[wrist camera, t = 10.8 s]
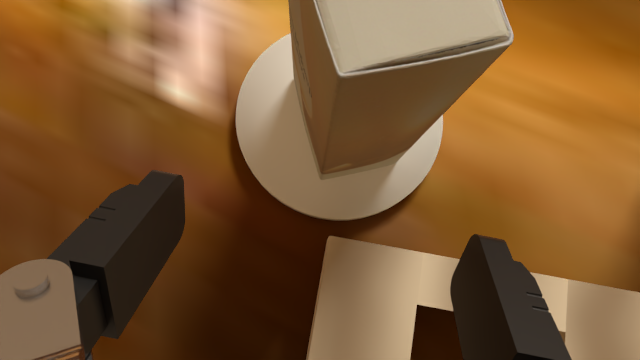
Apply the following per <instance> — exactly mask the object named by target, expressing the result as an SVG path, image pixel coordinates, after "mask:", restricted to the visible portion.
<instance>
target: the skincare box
mask: <svg viewBox="0 0 640 360" xmlns="http://www.w3.org/2000/svg"><path fill="white" fill-rule="evenodd" d="M288 1H289V15H290V30H291V43H292V61H293V76H294V82H295V86H296V91H297V96H298V101H299V105H300V109H301V114H302V118H303V122H304V126H305V130H306V134H307V137H308V140H309V144H310V147H311V151H312V154H313V158H314V161H315V165H316V168H317V172H318V175H319V178H320V179H321V180H325V179H330V178H335V177H340V176H345V175H349V174H354V173H359V172H363V171H368V170H372V169H376V168H380V167H384V166H388V165H392V164H395V163H396V162H397V161H398V160H399V159H400V158H401V157H402V156H403V155H404V154H405V153H406V152H407V151H408V150H409V149H410V148H411V147H412V146H413V145H414V144H415V143H416V142H417V141H418V139H419V138H420V137H421V136H422V135H423V134H424V133H425V132H426V131H427V130H428V129H429V128H430V127H431V126H432V125H433V124H434V123H435V122H436V121H437V120H438V119H439V118H440V117H441V116H442V115H443V114H444V113H445V112H446V111H447V110H448V109H449V108H450V107H451V105H452V104H453V103H454V102H455V101H456V100H457V99H458V98H459V97H460V96H461V95H462V94H463V93H464V92H465V91H466V90H467V89H468V88H469V87H470V86H471V85H472V84H473V83H474V82H475V81H476V80H477V79H478V78H479V77H480V76H481V75H482V74H483V73H484V72H485V71H486V69H487V68H488V67H489V66H490V65H491V64H492V63H493V62H494V61H495V60H496V59H497V58H498V57H499V56H500V55H501V54H502V53H503V52H504V51H505V50H506V49H507V48H508V47H509V46H510V45H511V44H512V41H513V37H514V35H513V32H512V28H511V26H510V24H509V21H508V19H507V16H506V13H505V10H504V7H503V4H502V2H501V0H288Z"/></svg>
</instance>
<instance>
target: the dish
mask: <svg viewBox="0 0 640 360" xmlns="http://www.w3.org/2000/svg"><path fill="white" fill-rule="evenodd" d="M236 130H237V137H238V141H239V145H240V149H241V151H242V153H243V156H244V158H245V161H246V162H247V164H248V166H249V168H250V169H251V171H252V173H253V174H254V176H255V177H256V179H257V180H258V181H259V183H260V184H261V185H262V186H263V187H264V188H265V189H266V190H267V191H268V192H269V193H270V194H271V195H272V196H273V197H274V198H276V199H277V200H278V201H280V202H281V203H282V204H284V205H285V206H287V207H289V208H291V209H293V210H294V211H297V212H299V213H302V214H304V215H307V216H310V217H314V218H318V219H324V220H332V221H349V220H355V219H362V218H365V217H369V216H372V215H375V214H378V213H380V212H382V211H385V210H387V209H389V208H390V207H392V206H393V205H395V204H397V203H398V202H400V201H401V200H402V199H404V198H405V197H406V196H407V195H409V194H410V193H411V192H412V191H413V190H414V189H415V188H416V187H417V186H418V185H419V184H420V183H421V182H422V181H423V179H424V178H425V176H426V175H427V173H428V172H429V171H430V169H431V167H432V165H433V163H434V161H435V159H436V156H437V153H438V150H439V147H440V143H441V138H442V130H443V115H442V116H441V117H440V118H439V119H438V120H437V121H436V122H435V123H434V124H433V125H432V126H431V127H430V128H429V129H428V130H427V131H426V132H425V133H424V134H423V135H422V136H421V137H420V138H419V139H418V141H417V142H416V143H415V144H414V145H413V146H412V147H411V148H410V149H409V150H408V151H407V152H406V153H405V154H404V155H403V156H402V157H401V158H400V159H399V160H398V161H397V162H396V163H395V164H392V165H388V166H384V167H380V168H376V169H372V170H368V171H363V172H359V173H354V174H349V175H345V176H340V177H335V178H330V179H325V180H321V179H320V178H319V175H318V172H317V168H316V165H315V161H314V158H313V154H312V151H311V147H310V144H309V140H308V137H307V134H306V130H305V126H304V122H303V118H302V114H301V109H300V105H299V101H298V96H297V91H296V86H295V82H294V76H293V61H292V43H291V33H290V34H288V35H286V36H284V37H282V38H281V39H279V40H278V41H276V42H275V43H274V44H272V45H271V46H270V47H269V48H268V49H266V50H265V51H264V52H263V53H262V54H261V55H260V57H259V58H258V59H257V60H256V61H255V62H254V64H253V65H252V67H251V68H250V70H249V72H248V73H247V75H246V77H245V79H244V82H243V84H242V86H241V89H240V93H239V96H238V101H237V107H236Z"/></svg>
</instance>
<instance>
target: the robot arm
mask: <svg viewBox="0 0 640 360" xmlns="http://www.w3.org/2000/svg"><path fill="white" fill-rule="evenodd" d="M184 225H185V203H184V181H183V177H182V176H181V175H177V174H172V173H167V172H162V171H157V170H152V171H151V172H150V173H149V174H148V175H147V176H146V177H145V178H144V179H143V180H142V181H141V182H140V184H139V185H138V186H137V185H132V184H129V185H127V186H125V187H123V188H121V189H119V190H117V191H115V192H113V193H111V194H110V195H109V196H108V197H107V198H106V199H105V200H104V202H103V203H102V204H101V205H100V206H99V208H97V209H96V210H95V211H94V212H93V213H92V214H91V215H90V216H89V218H88V219H86V220H85V221H84V222H83V223H82V224H81V225H80V226H79V227H78V228H77V229H76V230H75V231H74V232H73V233H72V234H71V235H70V236H69V237H68V238H67V239H66V240H65V241H64V242H63V243H62V244H61V245H60V246H59V247H58V248H57V249H56V250H55V251H54V252H53V253H52V254H51V255H50V256H49V257H48V258H47V259H39V260H33V261H28V262H25V263H22V264H19V265H17V266H15V267H13V268H11V269H9V270H7V271H6V272H4V273H3V274H2V275H0V360H94V359H93V353H92V348H93V346H94V345H95V343H96V342H97V340H98V339H99V338H100V336H105V337H110V338H115V339H118V338H119V336H120V335H121V333H122V332H123V330H124V328H125V327H126V325H127V324H128V322H129V320H130V319H131V317H132V316H133V314H134V312H135V311H136V309H137V308H138V306H139V304H140V303H141V301H142V300H143V298H144V296H145V295H146V293H147V292H148V290H149V288H150V287H151V285H152V284H153V282H154V280H155V279H156V277H157V276H158V274H159V272H160V271H161V269H162V268H163V266H164V264H165V263H166V261H167V260H168V258H169V256H170V255H171V253H172V252H173V250H174V249H175V247H176V245H177V244H178V242H179V240H180V238H181V236H182V233H183V230H184ZM450 295H451V301H452V306H453V311H454V315H455V320H456V325H457V330H458V335H459V340H460V345H461V350H462V355H463V360H572V359H571V357H570V355H569V352H568V350H567V348H566V346H565V343H564V341H563V339H562V337H561V335H560V332H559V330H558V328H557V326H556V324H555V321H554V319H553V317H552V315H551V313H549V311H548V310H549V308H548V306H547V304H546V301H545V299H544V298H542V293H541V290H540V288H539V286H538V284H537V282H536V279H535V278H534V277H533V275H532V274H531V273H530V272H529V271H528V270H527V269H526V268H525V267H524V265H523V264H522V263H521V262H517V261H513V259H512V256H511V254H510V251H509V249H508V247H507V244H506V242H505V241H504V240H502V239H497V238H492V237H487V236H482V235H477V234H474V235H473V236H472V237H471V238H470V240H469V241H468V244H467V246H466V248H465V250H464V252H463V254H462V256H461V258H460V260H459V262H458V265H457V267H456V269H455V271H454V273H453V276H452V279H451V286H450Z"/></svg>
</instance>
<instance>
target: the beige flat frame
mask: <svg viewBox="0 0 640 360" xmlns="http://www.w3.org/2000/svg"><path fill="white" fill-rule="evenodd" d="M459 260H460V259H455V258H449V257H444V256H438V255H433V254H428V253H422V252H417V251H411V250H406V249H400V248H395V247H390V246H384V245H379V244H373V243H368V242H362V241H357V240H352V239H346V238H341V237H335V236H329V237H328V239H327V242H326V248H325V254H324V260H323V265H322V271H321V277H320V282H319V288H318V294H317V299H316V305H315V311H314V316H313V322H312V328H311V334H310V339H309V345H308V351H307V356H306V360H410V357H411V349H412V341H413V333H414V325H415V317H416V309H417V305H422V306H428V307H433V308H439V309H444V310H449V311H453V306H452V301H451V295H450V286H451V279H452V276H453V273H454V271H455V269H456V267H457V265H458V262H459ZM530 273H531V272H530ZM531 274H532V275H533V277H534V278H535V279H536V282H537V284H538V286H539V288H540V290H541V293H542V298H544V299H545V301H546V304H547V306H548V308H549V310H548V311H549V313H551V315H552V317H553V319H554V321H555V324H556V326H557V328H558V330H559V332H560V335H561V337H562V339H563V341H564V343H565V346H566V348H567V350H568V352H569V355H570V357H571V359H572V360H640V292H634V291H629V290H623V289H618V288H612V287H607V286H602V285H596V284H591V283H585V282H580V281H574V280H569V279H563V278H558V277H553V276H547V275H542V274H536V273H531Z"/></svg>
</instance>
